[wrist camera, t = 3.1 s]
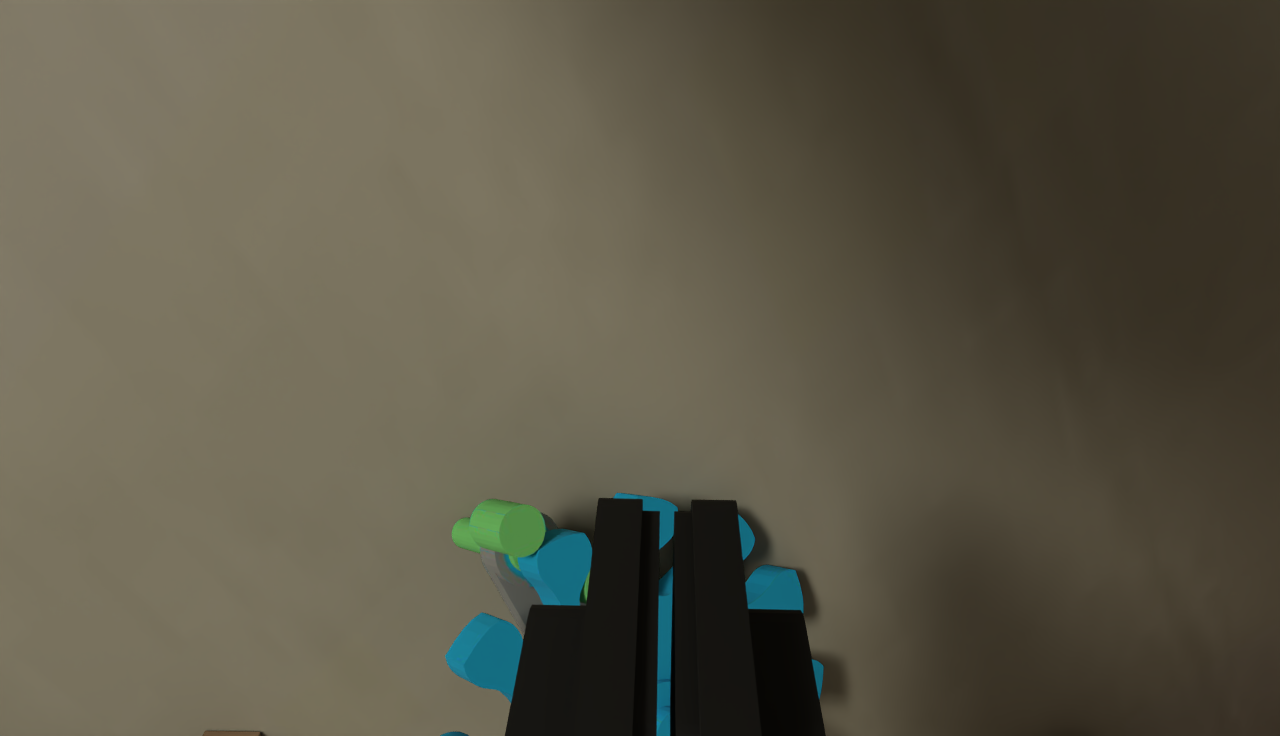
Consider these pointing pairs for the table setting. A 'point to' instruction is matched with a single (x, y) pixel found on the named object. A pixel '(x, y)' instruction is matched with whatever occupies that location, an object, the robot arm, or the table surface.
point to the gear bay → (230, 733)
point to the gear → (572, 589)
